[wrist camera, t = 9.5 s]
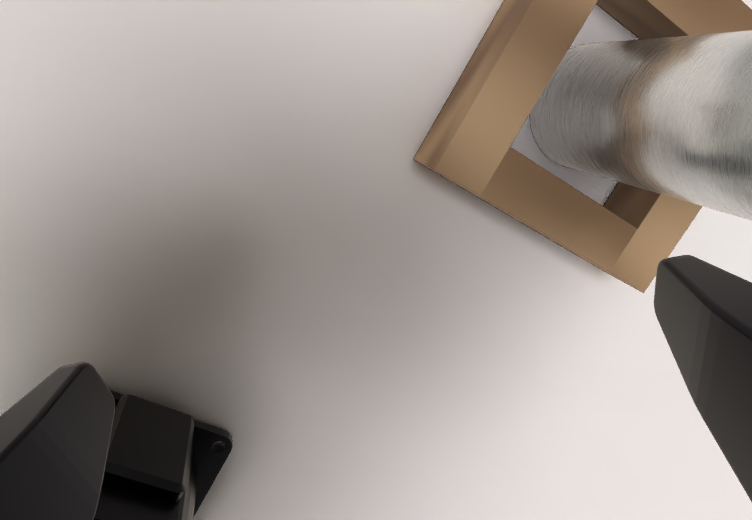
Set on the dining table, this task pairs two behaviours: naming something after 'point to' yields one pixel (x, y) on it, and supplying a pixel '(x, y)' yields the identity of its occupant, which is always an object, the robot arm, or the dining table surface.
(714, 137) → the metal canister
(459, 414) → the dining table surface
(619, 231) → the frame
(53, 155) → the dining table surface
